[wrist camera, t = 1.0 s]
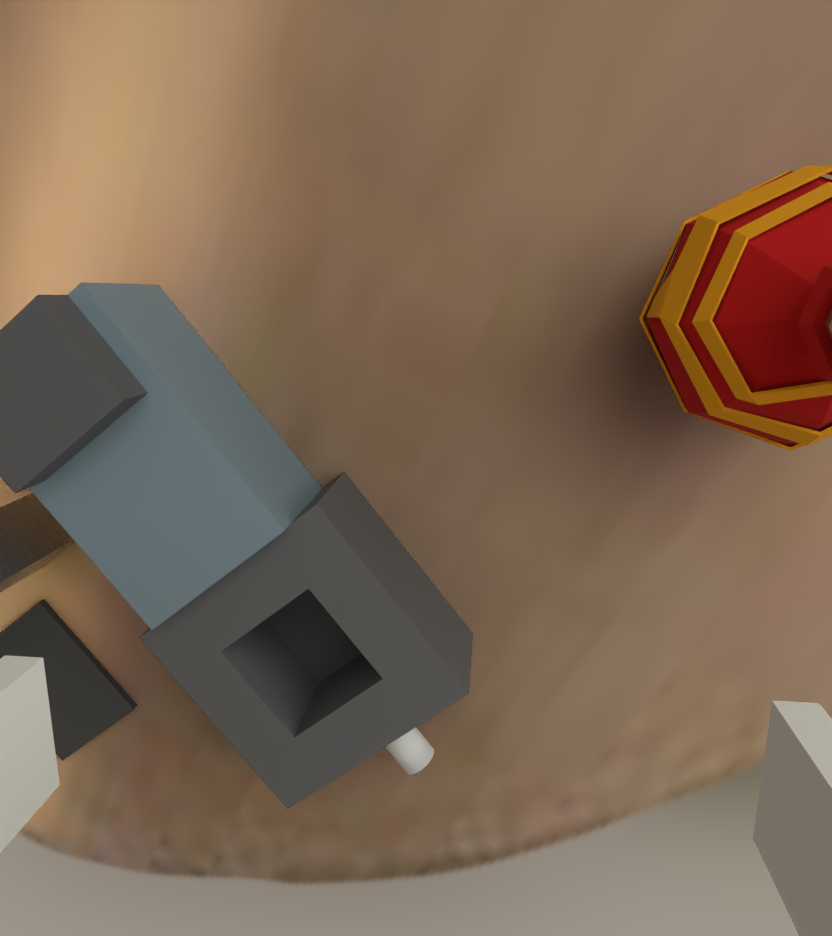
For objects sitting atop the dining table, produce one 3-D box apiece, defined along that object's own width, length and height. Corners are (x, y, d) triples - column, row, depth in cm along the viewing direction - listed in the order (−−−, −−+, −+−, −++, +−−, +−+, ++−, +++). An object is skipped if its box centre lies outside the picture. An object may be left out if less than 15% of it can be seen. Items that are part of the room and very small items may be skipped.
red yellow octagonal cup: (732, 462, 35) (898, 579, 21) (573, 322, 35) (629, 340, 20) (906, 292, 33) (1233, 290, 18) (738, 137, 32) (939, 4, 18)
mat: (-26, 654, 42) (-31, 658, 42) (43, 599, 41) (39, 602, 41) (66, 756, 43) (62, 760, 43) (136, 705, 42) (133, 708, 42)
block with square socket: (31, 399, 38) (-106, 429, 30) (179, 265, 36) (79, 256, 27) (349, 775, 42) (311, 902, 33) (506, 676, 39) (509, 784, 30)
